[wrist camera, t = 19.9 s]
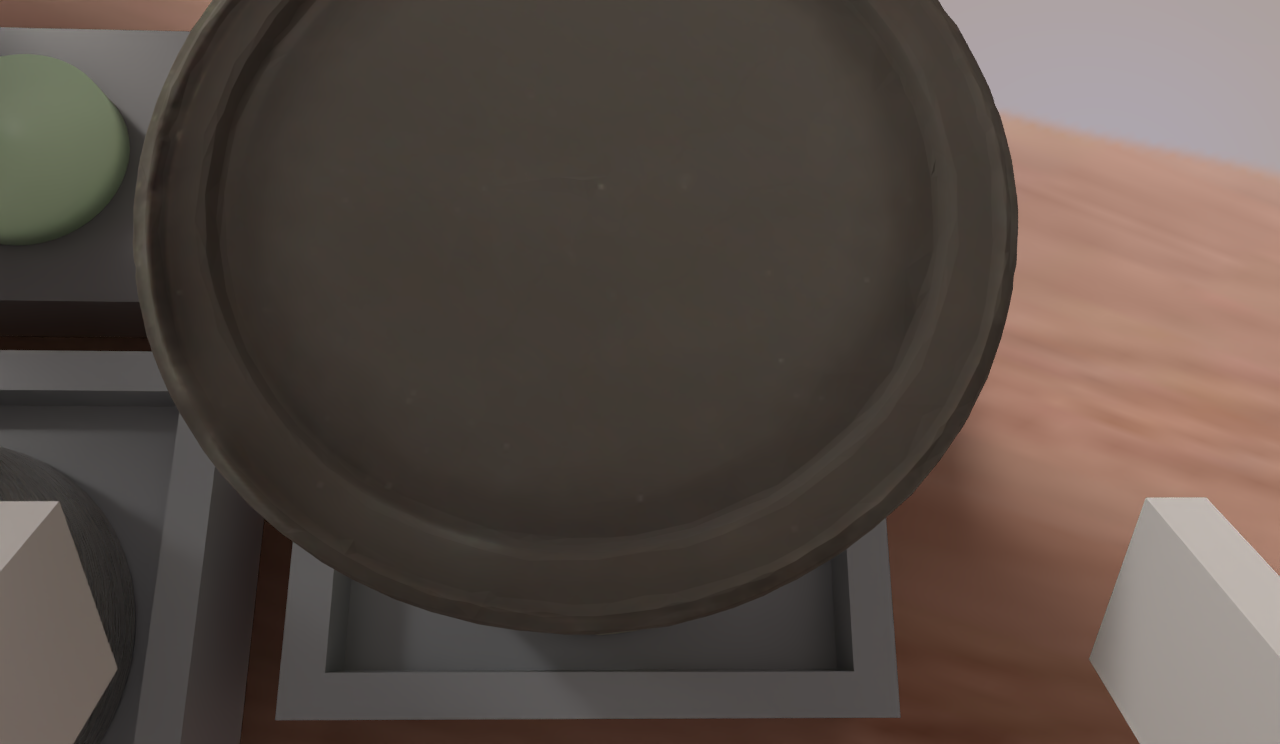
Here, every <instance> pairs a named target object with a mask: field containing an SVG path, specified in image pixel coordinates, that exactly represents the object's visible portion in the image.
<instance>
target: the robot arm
mask: <svg viewBox="0 0 1280 744" xmlns="http://www.w3.org/2000/svg"><path fill="white" fill-rule="evenodd" d="M1089 660H1090V662H1091V663H1092V665H1093V667H1094V668H1095V670H1096V672H1097V673H1098V675H1099V677H1100V678H1101V680H1102V682H1103V683H1104V685H1105V687H1106V688H1107V690H1108V692H1109V693H1110V695H1111V697H1112V698H1113V700H1114V702H1115V703H1116V705H1117V707H1118V708H1119V710H1120V712H1121V713H1122V715H1123V717H1124V718H1125V720H1126V722H1127V723H1128V725H1129V727H1130V728H1131V730H1132V732H1133V733H1134V735H1135V737H1136V738H1137V740H1138V742H1139V743H1140V744H1280V576H1279V575H1278V574H1277V573H1276V572H1275V571H1274V570H1273V569H1272V568H1271V567H1270V565H1269V564H1268V563H1267V562H1266V561H1265V560H1264V559H1263V558H1262V557H1261V556H1260V555H1259V554H1258V553H1257V551H1256V550H1255V549H1254V548H1253V547H1252V546H1251V545H1250V544H1249V543H1248V542H1247V541H1246V540H1245V539H1244V538H1243V536H1242V535H1241V534H1240V533H1239V532H1238V531H1237V530H1236V529H1235V528H1234V527H1233V526H1232V525H1231V524H1230V523H1229V521H1228V520H1227V519H1226V518H1225V517H1224V516H1223V515H1222V514H1221V513H1220V512H1219V511H1218V510H1217V509H1216V507H1215V506H1214V505H1213V504H1212V503H1211V502H1210V501H1209V500H1208V499H1207V498H1206V497H1204V498H1146V499H1145V501H1144V504H1143V507H1142V510H1141V513H1140V516H1139V518H1138V521H1137V524H1136V527H1135V530H1134V533H1133V535H1132V538H1131V541H1130V544H1129V547H1128V550H1127V552H1126V555H1125V558H1124V561H1123V564H1122V567H1121V570H1120V572H1119V575H1118V578H1117V581H1116V584H1115V587H1114V589H1113V592H1112V595H1111V598H1110V601H1109V604H1108V606H1107V609H1106V612H1105V615H1104V618H1103V621H1102V623H1101V626H1100V629H1099V632H1098V635H1097V638H1096V640H1095V643H1094V646H1093V649H1092V652H1091V655H1090V657H1089ZM117 669H118V668H117V665H116V662H115V660H114V657H113V654H112V651H111V648H110V645H109V642H108V640H107V637H106V634H105V631H104V628H103V625H102V622H101V619H100V617H99V614H98V611H97V608H96V605H95V602H94V599H93V596H92V594H91V591H90V588H89V585H88V582H87V579H86V576H85V574H84V571H83V568H82V565H81V562H80V559H79V556H78V553H77V551H76V548H75V545H74V542H73V539H72V536H71V533H70V531H69V528H68V525H67V522H66V519H65V516H64V513H63V510H62V508H61V505H60V502H59V501H0V744H73V743H74V742H75V740H76V738H77V737H78V735H79V733H80V732H81V730H82V728H83V727H84V725H85V723H86V722H87V720H88V718H89V717H90V715H91V713H92V712H93V710H94V708H95V706H96V705H97V703H98V701H99V700H100V698H101V696H102V695H103V693H104V691H105V690H106V688H107V686H108V685H109V683H110V681H111V680H112V678H113V676H114V675H115V673H116V671H117Z"/></svg>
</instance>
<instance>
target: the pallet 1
mask: <svg viewBox="0 0 1280 744" xmlns="http://www.w3.org/2000/svg"><path fill="white" fill-rule="evenodd" d="M0 446H1V447H4V448H7V449H11V450H14V451H17V452H21V453H24V454H27V455H29V456H31V457H33V458H36V459H38V460H40V461H42V462H45V463H47V464H49V465H50V466H52V467H53V468H55V469H57V470H58V471H60V472H61V473H63V474H64V475H66V476H68V477H69V478H70V479H71V480H72V481H74V482H75V483H76V484H77V485H78V486H79V487H80V488H82V489H83V490H84V491H85V492H86V493H87V494H88V495H89V496H90V497H91V499H92V500H93V501H94V502H95V503H96V505H97V506H98V507H99V508H100V509H101V511H102V512H103V513H104V515H105V517H106V518H107V520H108V521H109V523H110V525H111V526H112V528H113V530H114V531H115V533H116V535H117V538H118V540H119V542H120V545H121V547H122V550H123V552H124V554H125V557H126V560H127V564H128V568H129V572H130V576H131V580H132V586H133V595H134V603H135V637H134V644H133V651H132V658H131V664H130V668H129V672H128V676H127V679H126V683H125V687H124V690H123V694H122V696H121V699H120V701H119V704H118V706H117V709H116V711H115V714H114V716H113V719H112V721H111V723H110V725H109V727H108V729H107V731H106V732H105V734H104V736H103V738H102V740H101V742H100V743H99V744H240V738H241V728H242V719H243V710H244V701H245V691H246V682H247V673H248V664H249V654H250V645H251V636H252V627H253V618H254V608H255V599H256V590H257V581H258V571H259V562H260V553H261V544H262V534H263V525H264V518H263V517H262V516H261V515H260V514H259V513H257V512H256V511H255V510H254V509H253V508H252V507H251V506H249V505H248V504H247V502H246V501H245V500H244V499H243V498H242V497H241V496H240V495H239V494H238V493H237V491H236V490H235V489H234V488H233V487H232V486H231V485H230V484H229V483H228V482H227V480H226V479H225V478H224V477H223V476H222V475H221V473H220V472H219V471H218V469H217V468H216V467H215V466H214V464H213V463H212V462H211V460H210V459H209V458H208V456H207V455H206V454H205V452H204V451H203V450H202V448H201V446H200V445H199V443H198V442H197V440H196V439H195V437H194V435H193V434H192V432H191V431H190V429H189V427H188V426H187V424H186V422H185V421H184V419H183V417H182V416H181V414H180V413H179V411H178V409H177V407H176V406H175V404H174V402H173V400H172V398H171V396H170V394H169V392H168V390H167V388H166V385H165V383H164V381H163V379H162V376H161V374H160V371H159V369H158V366H157V363H156V361H155V358H154V356H153V353H152V351H51V350H0Z"/></svg>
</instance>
